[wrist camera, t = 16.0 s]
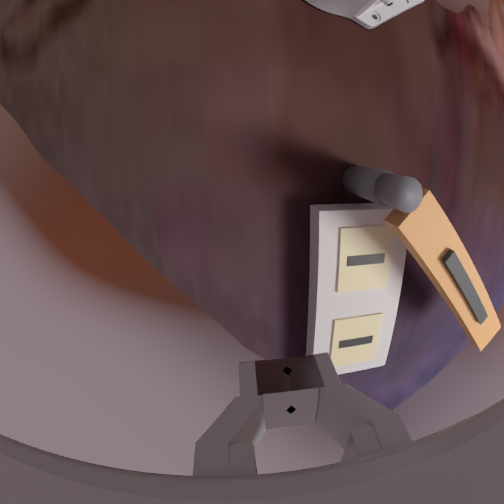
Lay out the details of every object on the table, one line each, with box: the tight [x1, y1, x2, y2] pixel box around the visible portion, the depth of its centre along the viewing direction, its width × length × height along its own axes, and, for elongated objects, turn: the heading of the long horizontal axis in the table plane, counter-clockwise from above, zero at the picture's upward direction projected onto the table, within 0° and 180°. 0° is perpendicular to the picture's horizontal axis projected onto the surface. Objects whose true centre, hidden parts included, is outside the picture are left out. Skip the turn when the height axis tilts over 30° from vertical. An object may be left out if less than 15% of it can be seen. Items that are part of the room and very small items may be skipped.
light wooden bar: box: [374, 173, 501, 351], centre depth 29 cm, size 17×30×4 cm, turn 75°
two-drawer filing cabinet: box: [306, 166, 407, 375], centre depth 35 cm, size 29×12×8 cm, turn 3°
